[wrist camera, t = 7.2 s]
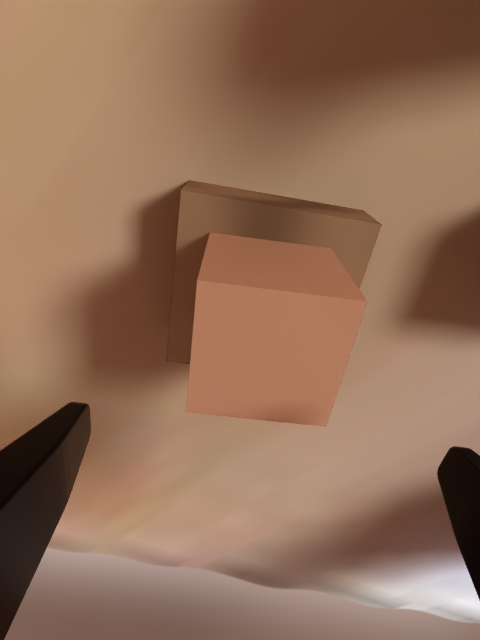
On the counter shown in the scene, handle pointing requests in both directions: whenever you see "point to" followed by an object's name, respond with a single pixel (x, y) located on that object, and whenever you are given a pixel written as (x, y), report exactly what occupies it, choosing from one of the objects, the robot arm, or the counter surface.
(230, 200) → the walnut slab
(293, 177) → the counter surface
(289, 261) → the terracotta cube
